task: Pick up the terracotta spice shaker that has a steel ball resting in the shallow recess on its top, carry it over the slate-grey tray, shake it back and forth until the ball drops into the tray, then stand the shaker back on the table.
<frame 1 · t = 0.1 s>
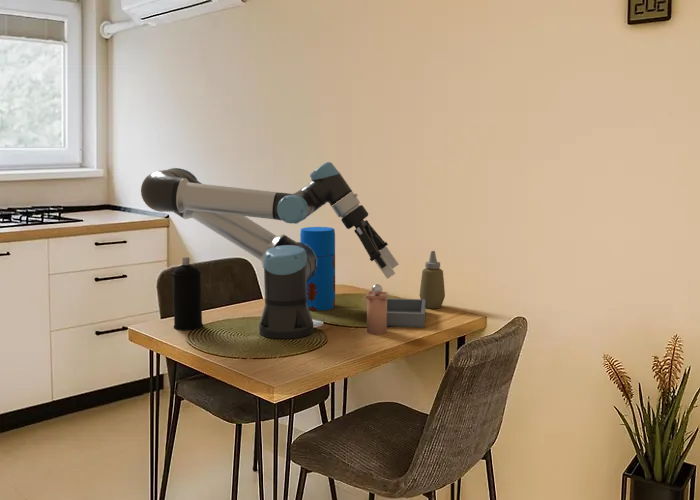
hand: (393, 271, 208), 15 cm above the table, tool tilted 35°, fingers open, 13 cm apart
thermos: (318, 307, 230), on the table
ball: (377, 289, 199), point 12 cm above the table, touching shaker
aerosol can: (188, 327, 206), on the table
tray: (397, 318, 215), on the table
squeeze bottle: (432, 307, 230), on the table
shaker: (376, 331, 201), on the table, touching ball
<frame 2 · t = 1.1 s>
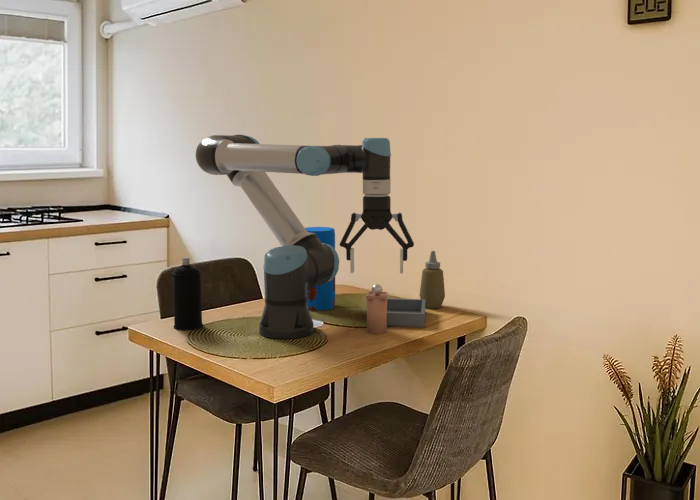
hand: (376, 272, 199), 17 cm above the table, tool pointing down, fingers open, 13 cm apart
nothing on the table moved.
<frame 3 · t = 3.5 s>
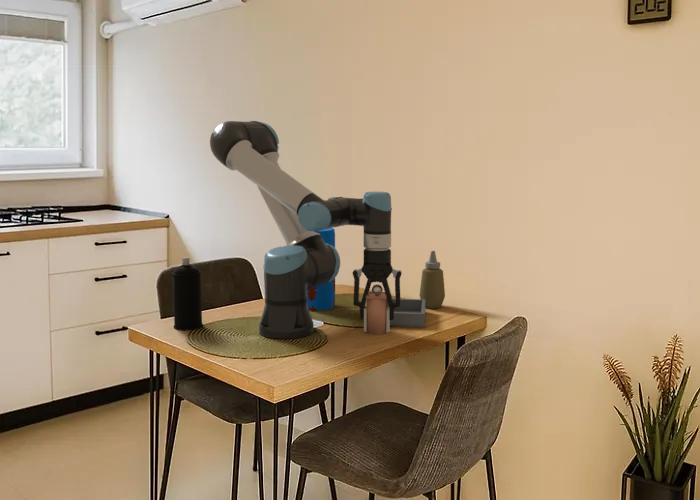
hand: (376, 330, 201), 0 cm above the table, tool pointing down, fingers closed on shaker, 6 cm apart
shaker: (376, 331, 201), on the table, touching ball, gripper
everything else where it was.
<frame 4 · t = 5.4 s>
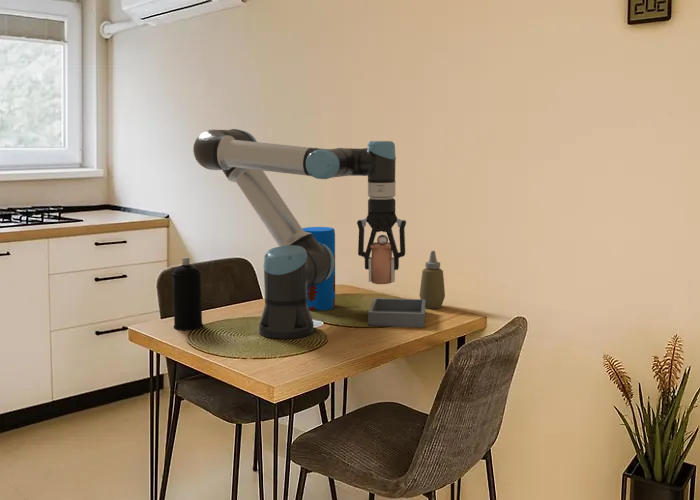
hand: (381, 280, 201), 14 cm above the table, tool pointing down, fingers closed on shaker, 6 cm apart
ball: (382, 240, 198), point 26 cm above the table, tilted 38°, touching shaker
shaker: (381, 282, 201), point 14 cm above the table, touching ball, gripper
everything else where it was.
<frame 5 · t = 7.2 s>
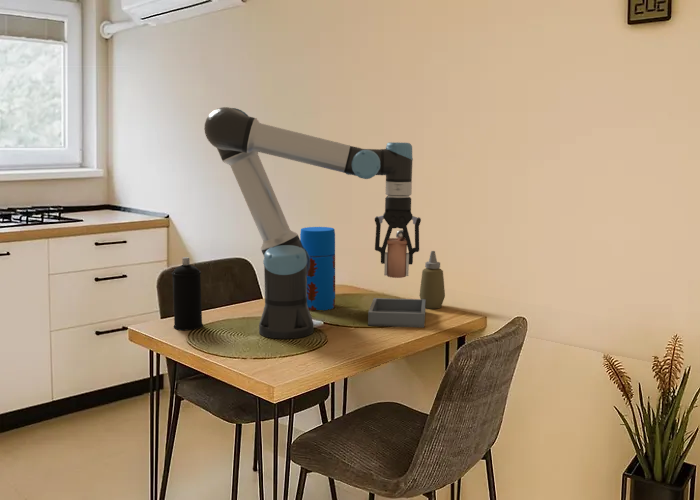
hand: (396, 274, 212), 13 cm above the table, tool pointing down, fingers closed on shaker, 6 cm apart
ball: (401, 235, 212), point 25 cm above the table, tilted 83°, touching shaker
shaker: (396, 275, 212), point 13 cm above the table, touching ball, gripper
everything else where it was.
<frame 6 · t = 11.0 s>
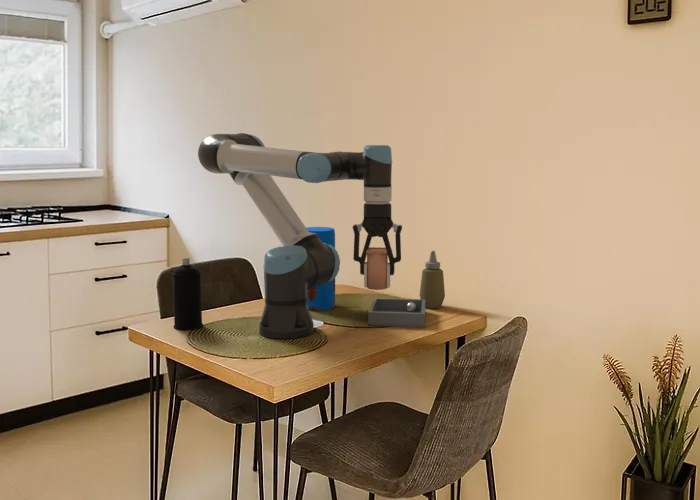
hand: (377, 286, 199), 13 cm above the table, tool pointing down, fingers closed on shaker, 6 cm apart
ball: (411, 307, 220), point 2 cm above the table, tilted 124°, touching tray
shaker: (377, 287, 199), point 13 cm above the table, touching gripper
everything else where it was.
when the fingers open (2 cm above the table, at t = 13.2 s): shaker drops 1 cm, on the table.
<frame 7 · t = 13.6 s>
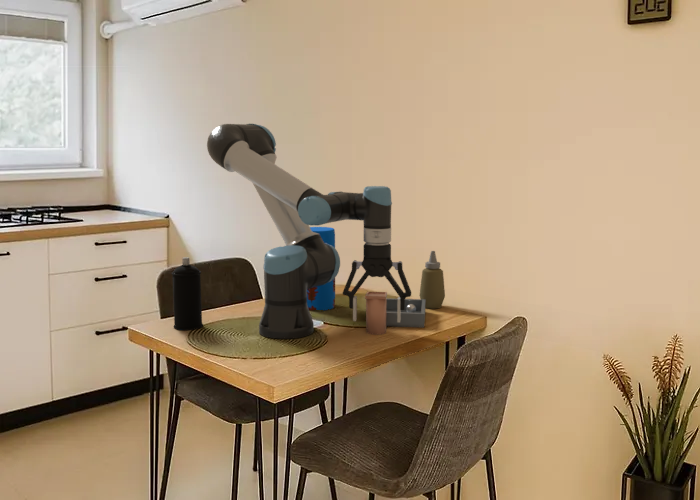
hand: (376, 320, 200), 3 cm above the table, tool pointing down, fingers open, 11 cm apart
ball: (411, 309, 218), point 2 cm above the table, tilted 59°, touching tray
shaker: (376, 331, 201), on the table
everything else where it was.
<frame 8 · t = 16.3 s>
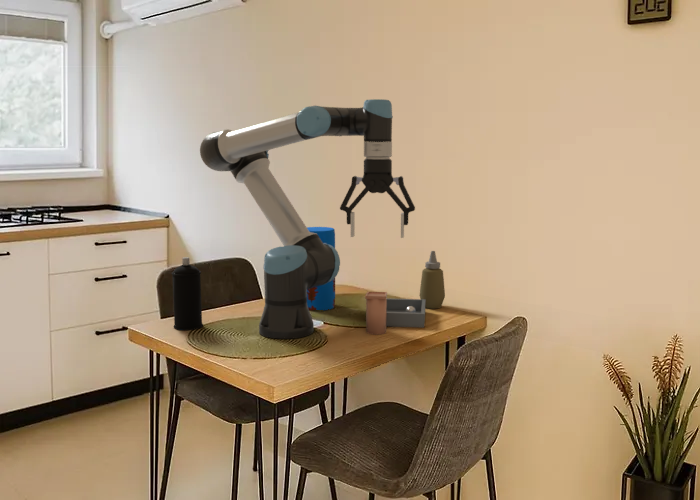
hand: (377, 236, 197), 27 cm above the table, tool pointing down, fingers open, 13 cm apart
ball: (410, 311, 216), point 2 cm above the table, tilted 62°, touching tray
everything else where it was.
at the end: ball inside the target area on the tray (4.0 cm from its centre), point 2.1 cm above the tray's base; shaker tilted 0° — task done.
